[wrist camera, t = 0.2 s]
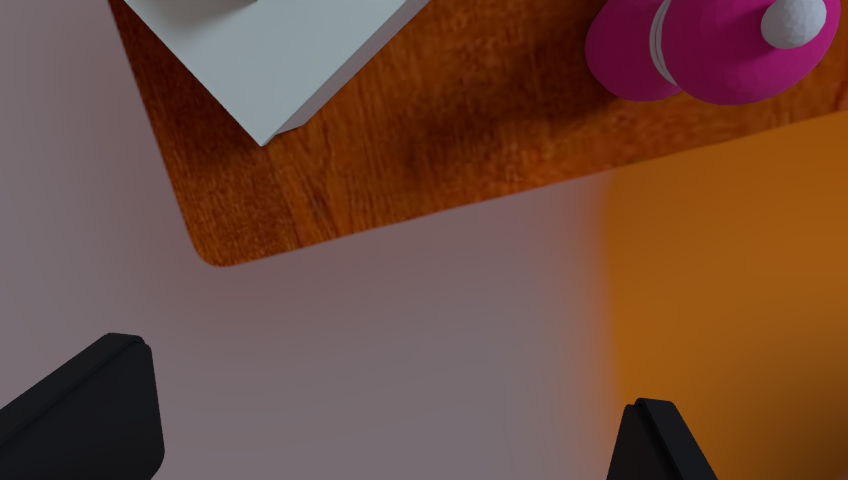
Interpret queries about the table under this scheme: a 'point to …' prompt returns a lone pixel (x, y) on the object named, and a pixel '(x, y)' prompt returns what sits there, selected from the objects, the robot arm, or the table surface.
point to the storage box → (356, 63)
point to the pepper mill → (708, 47)
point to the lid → (265, 49)
